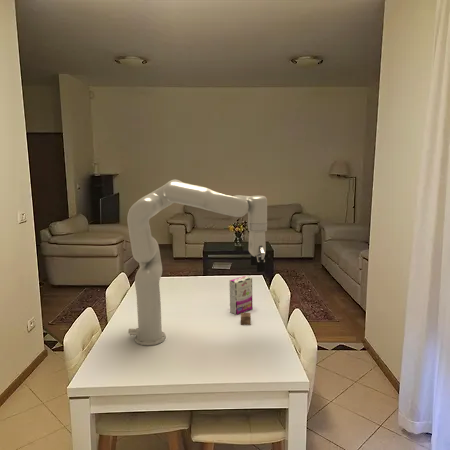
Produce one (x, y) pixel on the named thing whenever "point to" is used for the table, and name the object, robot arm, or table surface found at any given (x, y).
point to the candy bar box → (241, 295)
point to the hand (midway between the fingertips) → (257, 268)
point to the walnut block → (245, 319)
